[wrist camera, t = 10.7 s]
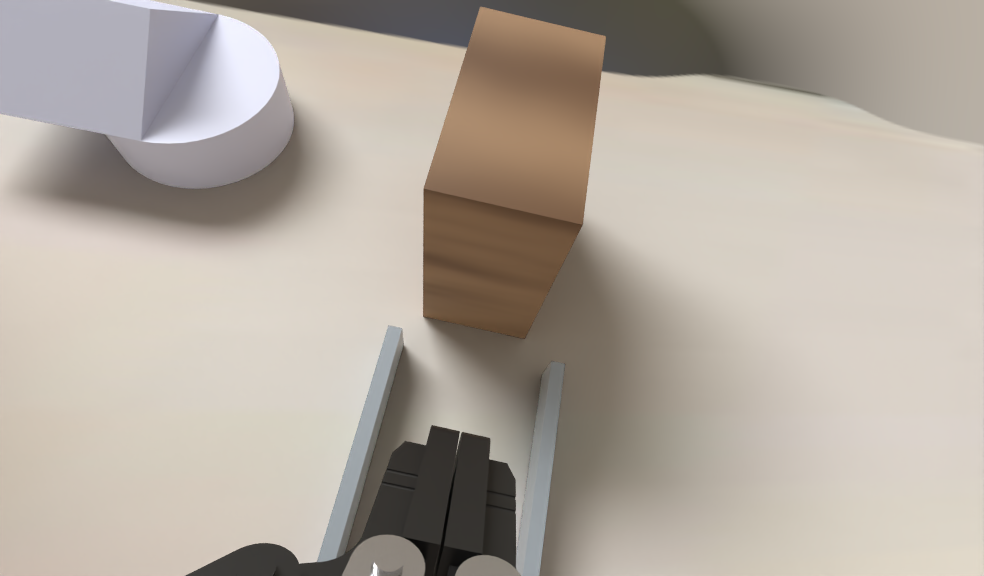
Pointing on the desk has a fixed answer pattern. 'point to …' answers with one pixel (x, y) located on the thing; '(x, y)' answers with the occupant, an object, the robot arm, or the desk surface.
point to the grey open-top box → (367, 437)
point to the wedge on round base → (149, 84)
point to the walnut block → (509, 172)
